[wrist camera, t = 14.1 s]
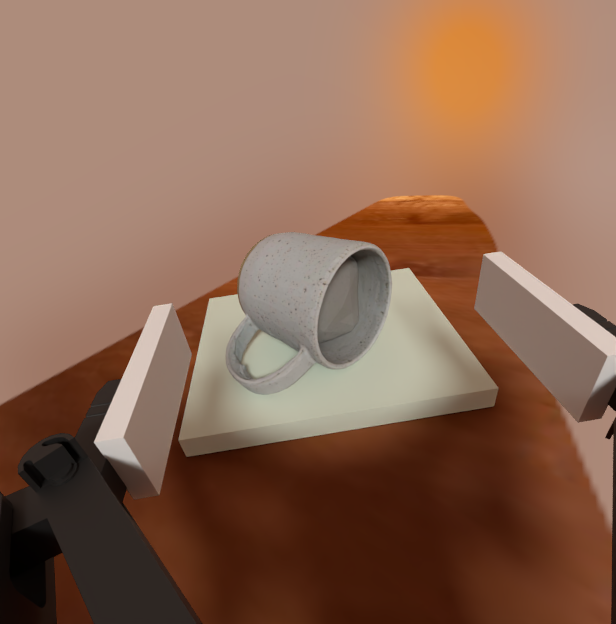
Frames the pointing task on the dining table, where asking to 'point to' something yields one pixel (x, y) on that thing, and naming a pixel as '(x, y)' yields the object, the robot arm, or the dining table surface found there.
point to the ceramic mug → (310, 304)
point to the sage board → (332, 379)
